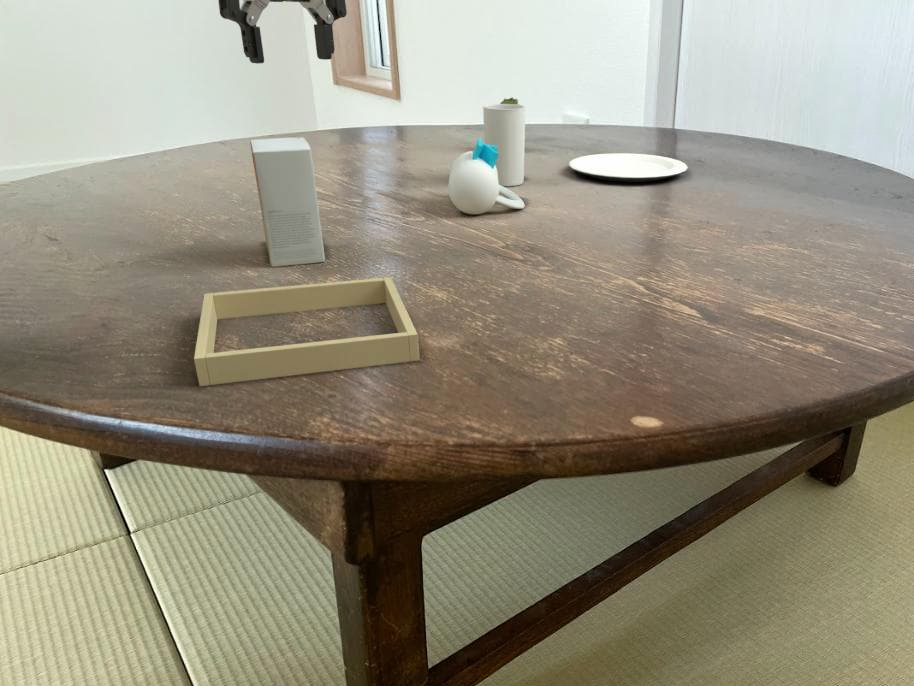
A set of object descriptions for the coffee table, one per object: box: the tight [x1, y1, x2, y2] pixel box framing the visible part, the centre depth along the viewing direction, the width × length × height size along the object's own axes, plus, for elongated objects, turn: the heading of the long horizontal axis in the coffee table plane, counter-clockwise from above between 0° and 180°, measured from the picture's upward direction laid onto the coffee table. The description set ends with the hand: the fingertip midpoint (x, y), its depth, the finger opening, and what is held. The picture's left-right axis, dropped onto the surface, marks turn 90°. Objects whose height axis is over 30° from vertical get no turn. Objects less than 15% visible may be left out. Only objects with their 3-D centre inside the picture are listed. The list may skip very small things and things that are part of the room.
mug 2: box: [447, 138, 526, 216], centre depth 116 cm, size 12×9×12 cm
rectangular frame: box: [193, 276, 420, 387], centre depth 72 cm, size 18×16×3 cm
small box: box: [249, 137, 326, 268], centre depth 93 cm, size 8×6×13 cm
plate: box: [568, 152, 688, 183], centre depth 140 cm, size 21×21×2 cm
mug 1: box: [482, 103, 526, 187], centre depth 131 cm, size 10×7×12 cm, turn 24°
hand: (291, 61), depth 92 cm, fingers open, 8 cm apart
